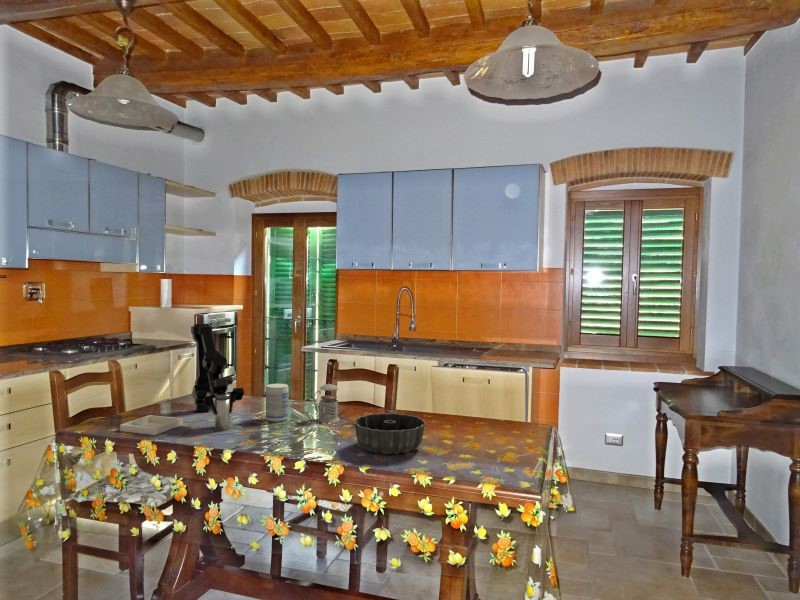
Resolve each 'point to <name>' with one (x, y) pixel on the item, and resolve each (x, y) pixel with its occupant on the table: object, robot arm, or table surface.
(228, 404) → the shaker
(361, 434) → the bundt pan
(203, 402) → the robot arm
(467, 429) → the table surface
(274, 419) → the supplement tub
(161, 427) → the tray
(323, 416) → the french press
